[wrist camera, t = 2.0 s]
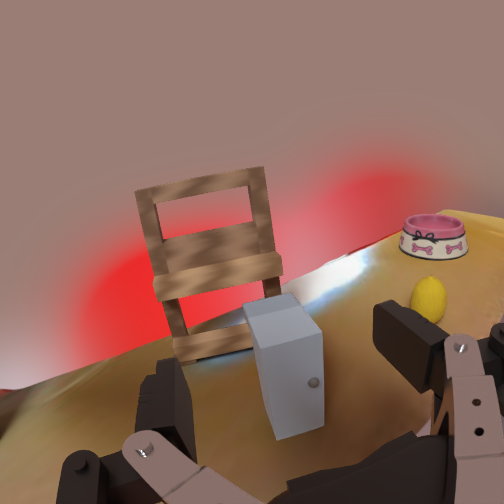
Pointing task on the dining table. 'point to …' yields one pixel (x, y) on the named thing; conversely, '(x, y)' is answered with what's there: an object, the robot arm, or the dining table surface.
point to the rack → (210, 258)
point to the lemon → (429, 298)
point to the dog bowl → (433, 237)
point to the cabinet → (288, 363)
